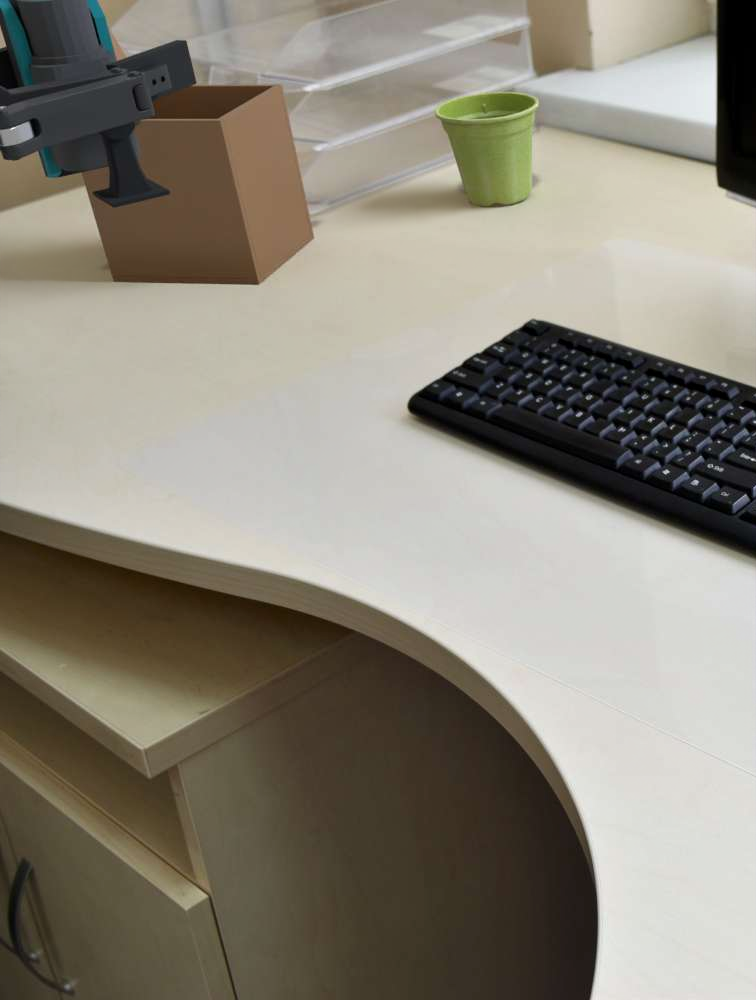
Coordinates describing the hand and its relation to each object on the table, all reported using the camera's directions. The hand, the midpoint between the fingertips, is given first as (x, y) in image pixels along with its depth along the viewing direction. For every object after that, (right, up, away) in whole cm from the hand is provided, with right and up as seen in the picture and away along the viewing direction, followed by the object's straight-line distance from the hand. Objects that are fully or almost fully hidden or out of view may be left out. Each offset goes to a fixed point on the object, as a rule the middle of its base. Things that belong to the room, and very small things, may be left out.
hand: (120, 58), depth 89 cm
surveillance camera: (0, -8, 0) cm, 8 cm away
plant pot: (+17, 0, +40) cm, 44 cm away
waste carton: (-5, -8, +29) cm, 30 cm away
